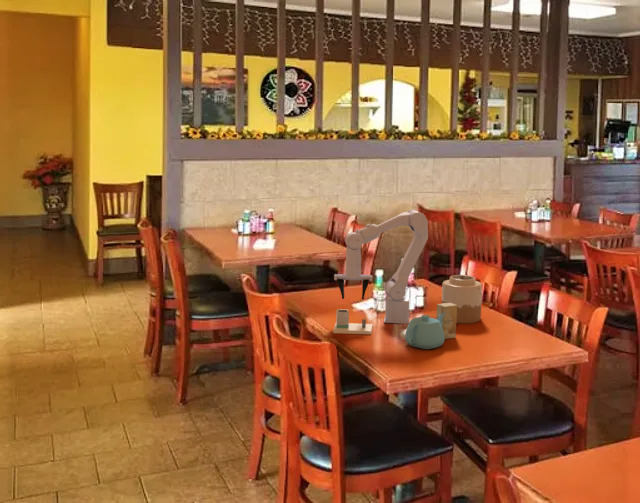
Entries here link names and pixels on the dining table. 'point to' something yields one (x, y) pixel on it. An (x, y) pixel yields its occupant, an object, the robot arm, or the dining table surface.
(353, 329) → the pin board
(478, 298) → the vase
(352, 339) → the dining table surface
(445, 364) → the dining table surface
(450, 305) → the skincare box
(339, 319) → the teal banded block
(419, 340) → the teapot
